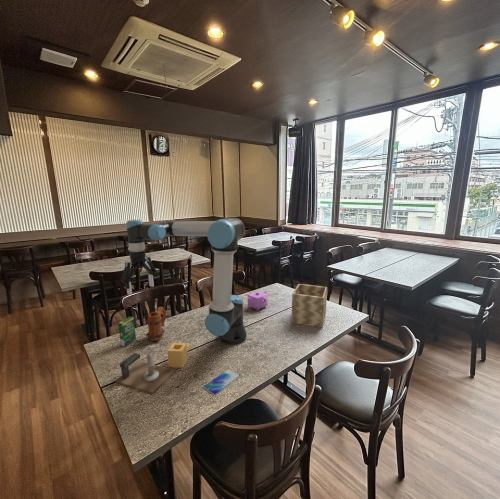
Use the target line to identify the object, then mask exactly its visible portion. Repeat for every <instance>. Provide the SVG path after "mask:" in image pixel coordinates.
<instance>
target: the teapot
mask: <svg viewBox="0 0 500 499" xmlns="http://www.w3.org/2000/svg"><path fill="white" fill-rule="evenodd" d="M268 291H269V290H268V289H266V290H264V292H263V291H259V290H257V291H253V292H250V293H248V294H247V306H248V307H250V309H254V310H256V311H260V309H265V307H266V306H268V301H269V300H268V299H269V298H268V296H269V294H268V293H267V292H268Z"/></svg>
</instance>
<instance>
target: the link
mask: <svg viewBox="0 0 500 499" xmlns="http://www.w3.org/2000/svg"><path fill="white" fill-rule="evenodd" d="M190 346H191V345H190V343H186V342H185V343H184V342H172V343H171V345H170V347H169V348H168V349H167V361H168V367H170V368H181V369H183V368H184V366H185V364H186V363H187V361H188V360H189V359H188V351H189V350H190Z"/></svg>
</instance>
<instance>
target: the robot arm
mask: <svg viewBox="0 0 500 499" xmlns="http://www.w3.org/2000/svg"><path fill="white" fill-rule="evenodd" d="M245 232H246V227H245V224H244V223H243V221H242V220H240V219H239V218H237V217H231V216H230V217H228V218H219V219H217V220H207V221H206V220H205V221H199V220H198V221H197V220H196V221H194V220H193V221H191V220H190V221H174V220H169V221H165V222H158V223H152V224H150V223H149V224H145V223H144V222H143V220H142V219H128V220H127V221H126V233H127V241H128V242H127V243H128V250H129V252H128V253H129V258H130V261H128V262H127V261H125V262H124V268H123V273H122V275H121V278H120V282H122V283H124V287H125V289H126V293H127V295H129V296H130V295H133V290H132V281H131V279H132V277H133V275H134V274H135V272H136V270H138V269H144V270H145V271H146V272H148V286H149V287H152V288H153V287H155V284H154V283H155V282H154V280H155V275H156V273H157V269H156V267H155V265H154V264H153V262H152V259H151V257H149V256H146V246H145V245H146V244H145V240H149V241H161V240H163V239H164V238H167V237H178V236H179V237H207V240H208V242H209V244H210V246H211V247H210V249H211V251H212V252H213V253H214V256H213V258H214V259H213V280H212V281H213V282H212V285H213V286H212V288H213V289H212V301H211V302H210V303H209V304H208V314H207V315H206V317H205V318H204V326H205V329H206V330H207V331H208V332H209V333H210V334H211V335H213V336H216V337H217V338H218V341H219V342H221V343H222V344H224V345H231V346H232V345H239V344H241V343H244V342H245V341H246V340H247V330H246V328H245V325H244V299H243V297H242V296H240V295H236V294H232V289H233V288H232V287H233V286H232V285H233V273H234V272H233V269H234V268H233V267H234V254H235V253H236V252H237V251H238V242H239V241H240V240H241V239H242V238H244V235H245Z"/></svg>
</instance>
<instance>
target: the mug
mask: <svg viewBox="0 0 500 499" xmlns="http://www.w3.org/2000/svg"><path fill="white" fill-rule="evenodd" d="M165 322H166V310H165V308H164V306H159V307H158V308H157V309H156V311H151V312H150V313H148V314H147V319H146V320H145V324H147V326H148V332H147V333H146V334H145V335H146V337H148V338H149V341H151V342H156V341H160V340H161V339H162V338H163V336H164V333H165V332H166V331H165V330H164V328H163V327H164V326H165Z"/></svg>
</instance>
